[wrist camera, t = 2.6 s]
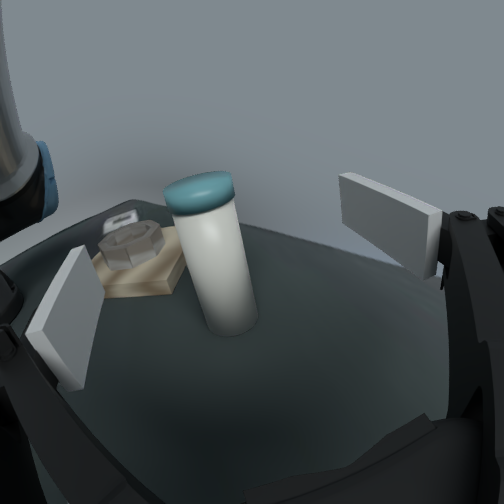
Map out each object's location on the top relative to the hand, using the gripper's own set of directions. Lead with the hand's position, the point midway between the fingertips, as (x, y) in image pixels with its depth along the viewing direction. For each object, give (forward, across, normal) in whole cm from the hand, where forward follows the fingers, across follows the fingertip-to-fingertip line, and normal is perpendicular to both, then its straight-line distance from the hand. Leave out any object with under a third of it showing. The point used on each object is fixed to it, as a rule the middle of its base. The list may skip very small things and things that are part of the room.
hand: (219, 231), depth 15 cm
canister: (+10, 0, -13) cm, 17 cm away
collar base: (+28, -11, -13) cm, 33 cm away
